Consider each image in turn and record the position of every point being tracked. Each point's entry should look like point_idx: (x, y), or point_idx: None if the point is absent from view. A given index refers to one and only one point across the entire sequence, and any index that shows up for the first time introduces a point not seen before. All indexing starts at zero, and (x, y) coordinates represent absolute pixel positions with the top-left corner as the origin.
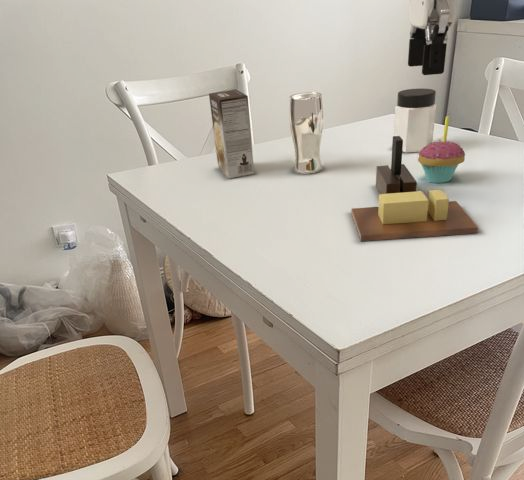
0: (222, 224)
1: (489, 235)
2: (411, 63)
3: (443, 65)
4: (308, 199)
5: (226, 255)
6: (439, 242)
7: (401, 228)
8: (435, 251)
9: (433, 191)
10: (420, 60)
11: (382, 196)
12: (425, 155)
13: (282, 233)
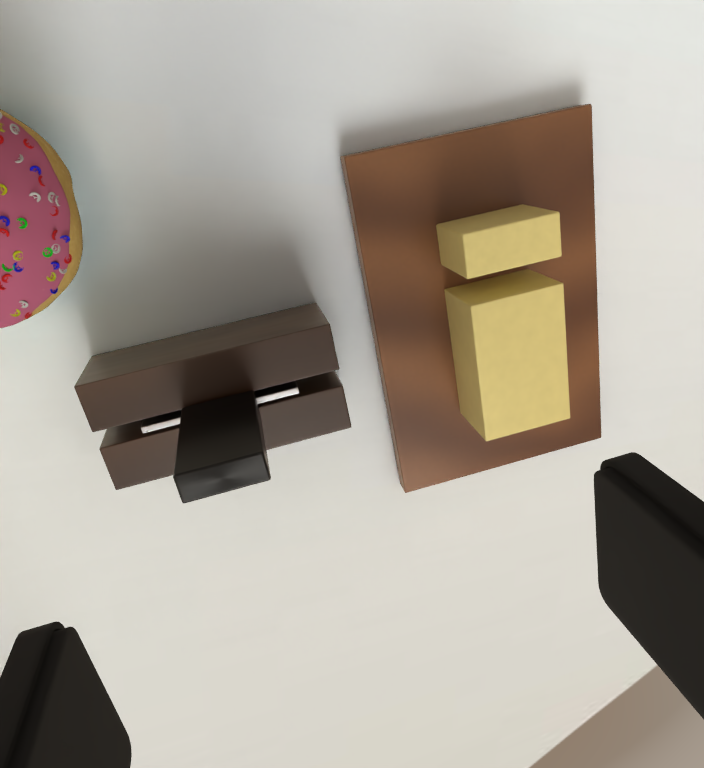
0: (455, 745)
1: (597, 65)
2: (121, 751)
3: (667, 484)
4: (272, 621)
5: (622, 674)
6: (624, 227)
7: (570, 339)
8: (676, 239)
9: (481, 265)
10: (89, 708)
11: (509, 429)
12: (36, 304)
13: (521, 611)
